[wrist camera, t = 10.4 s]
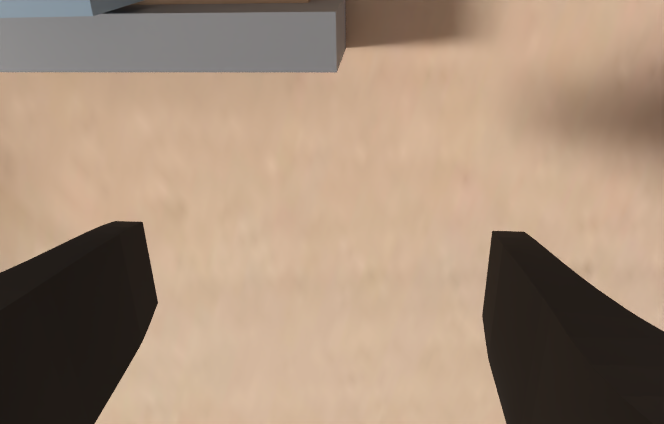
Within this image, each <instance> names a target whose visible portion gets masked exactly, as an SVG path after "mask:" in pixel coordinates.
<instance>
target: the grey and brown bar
mask: <svg viewBox="0 0 664 424" xmlns="http://www.w3.org/2000/svg"><path fill="white" fill-rule="evenodd" d="M345 49H346V11H345V0H144V1H140V2H137V3H134V4H131V5H127V6H124V7H121V8H118V9H115V10H111V11H108V12H105V13H102V14H98V15H95V16H75V17H21V18H0V72H337V70H338V68H339V65H340V62H341V60H342V57H343V54H344V52H345Z"/></svg>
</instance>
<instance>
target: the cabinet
mask: <svg viewBox="0 0 664 424" xmlns="http://www.w3.org/2000/svg"><path fill="white" fill-rule="evenodd" d="M140 1H144V0H0V18H21V17H75V16H95V15H98V14H102V13H105V12H108V11H111V10H115V9H118V8H121V7H124V6H127V5H131V4H134V3H137V2H140Z"/></svg>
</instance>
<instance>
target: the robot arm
mask: <svg viewBox="0 0 664 424" xmlns="http://www.w3.org/2000/svg"><path fill="white" fill-rule="evenodd" d="M157 304H158V301H157V296H156V290H155V285H154V280H153V274H152V269H151V264H150V259H149V253H148V248H147V243H146V238H145V232H144V227H143V222H124V221H114V222H111V223H108V224H105V225H103V226H100V227H98V228H95V229H93V230H91V231H88V232H86V233H84V234H82V235H80V236H78V237H76V238H74V239H71V240H69V241H67V242H65V243H63V244H61V245H59V246H57V247H55V248H53V249H51V250H49V251H47V252H45V253H42V254H40V255H38V256H36V257H34V258H32V259H30V260H28V261H26V262H23V263H21V264H19V265H17V266H15V267H12V268H10V269H8V270H6V271H3V272H1V273H0V424H95V422H96V420H97V419H98V417H99V415H100V414H101V412H102V410H103V408H104V407H105V405H106V403H107V402H108V400H109V398H110V397H111V395H112V393H113V392H114V390H115V388H116V387H117V385H118V383H119V381H120V380H121V378H122V376H123V375H124V373H125V371H126V370H127V368H128V366H129V364H130V363H131V361H132V359H133V357H134V356H135V354H136V352H137V350H138V349H139V347H140V345H141V343H142V341H143V339H144V337H145V334H146V332H147V329H148V327H149V325H150V322H151V319H152V317H153V314H154V311H155V309H156V306H157ZM482 316H483V324H484V332H485V339H486V346H487V353H488V359H489V363H490V366H491V370H492V374H493V377H494V381H495V384H496V388H497V392H498V395H499V399H500V402H501V406H502V409H503V413H504V416H505V420H506V423H507V424H664V331H662V330H660V329H658V328H657V327H655V326H653V325H651V324H650V323H648V322H646V321H644V320H643V319H641V318H640V317H638V316H636V315H635V314H633V313H632V312H630V311H628V310H627V309H625V308H624V307H622V306H621V305H620V304H618V303H617V302H615V301H614V300H612V299H611V298H609V297H608V296H606V295H605V294H603V293H602V292H601V291H599V290H598V289H597V288H595V287H594V286H592V285H591V284H590V283H588V282H587V281H586V280H584V279H583V278H582V277H580V276H579V275H578V274H577V273H575V272H574V271H573V270H571V269H570V268H569V267H568V266H566V265H565V264H564V263H563V262H561V261H560V260H559V259H558V258H557V257H555V256H554V255H553V254H552V253H550V252H549V251H548V250H547V249H546V248H544V247H543V246H542V245H541V244H539V243H538V242H537V241H536V240H535V239H533V238H532V237H531V236H529V235H528V234H526V233H525V232H512V231H492V238H491V247H490V255H489V264H488V272H487V281H486V289H485V298H484V306H483V314H482Z"/></svg>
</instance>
